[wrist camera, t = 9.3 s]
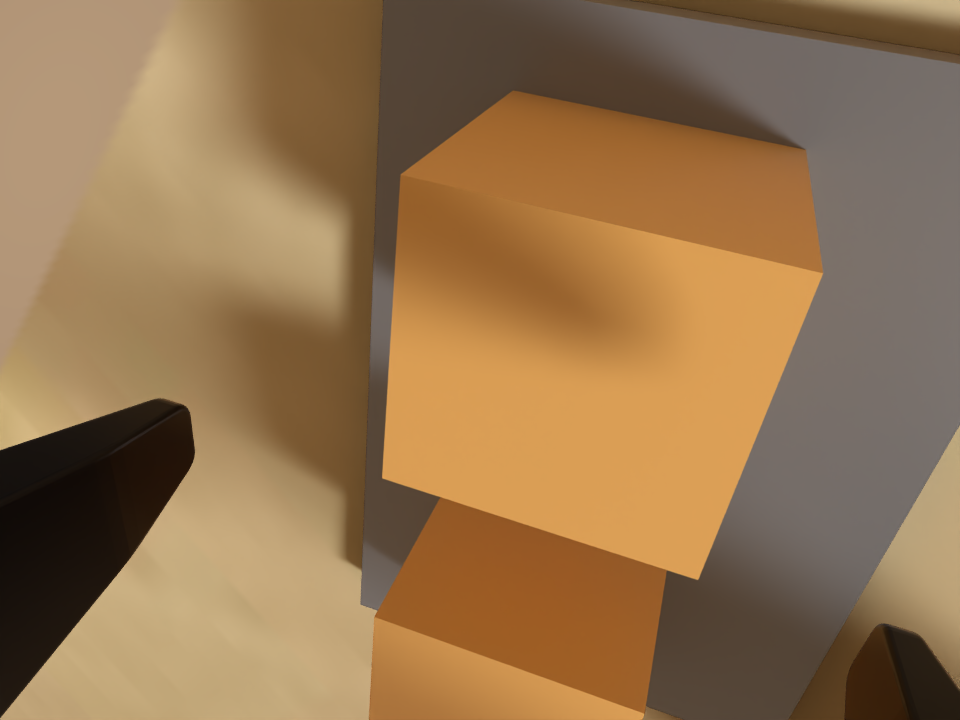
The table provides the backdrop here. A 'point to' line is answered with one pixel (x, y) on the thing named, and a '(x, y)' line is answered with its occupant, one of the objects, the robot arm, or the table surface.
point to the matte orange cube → (594, 321)
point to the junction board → (788, 421)
